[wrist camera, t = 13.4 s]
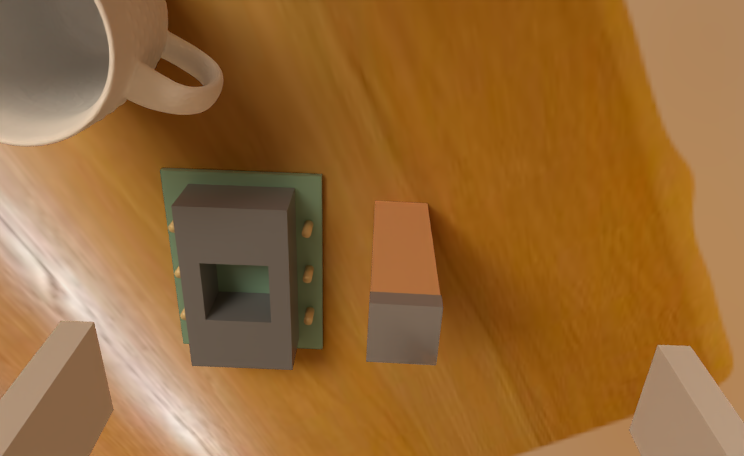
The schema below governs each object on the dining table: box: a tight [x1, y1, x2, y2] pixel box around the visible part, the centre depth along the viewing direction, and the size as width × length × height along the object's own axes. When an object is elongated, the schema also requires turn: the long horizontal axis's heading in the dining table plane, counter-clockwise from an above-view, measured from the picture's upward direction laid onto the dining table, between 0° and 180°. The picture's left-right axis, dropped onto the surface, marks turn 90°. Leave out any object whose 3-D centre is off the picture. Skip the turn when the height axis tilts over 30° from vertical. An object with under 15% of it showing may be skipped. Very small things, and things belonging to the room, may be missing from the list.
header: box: [160, 168, 323, 370], centre depth 47 cm, size 16×12×4 cm
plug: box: [366, 201, 443, 365], centre depth 41 cm, size 4×4×14 cm
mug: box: [0, 0, 224, 147], centre depth 34 cm, size 15×11×13 cm
